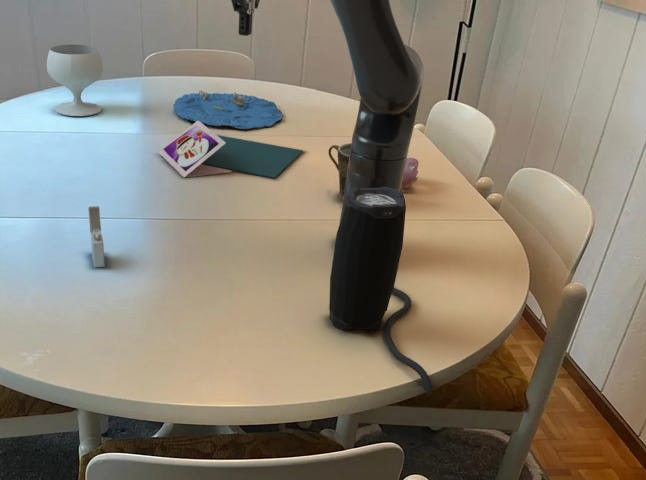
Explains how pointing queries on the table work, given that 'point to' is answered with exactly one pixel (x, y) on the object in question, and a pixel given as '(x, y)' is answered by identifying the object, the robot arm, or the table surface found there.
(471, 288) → the table surface
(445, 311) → the table surface
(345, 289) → the portable speaker
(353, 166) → the robot arm
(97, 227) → the lighter
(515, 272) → the table surface
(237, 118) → the decorative plate
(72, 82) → the chalice
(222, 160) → the placemat
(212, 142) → the greeting card
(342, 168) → the ceramic cup
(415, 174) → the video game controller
